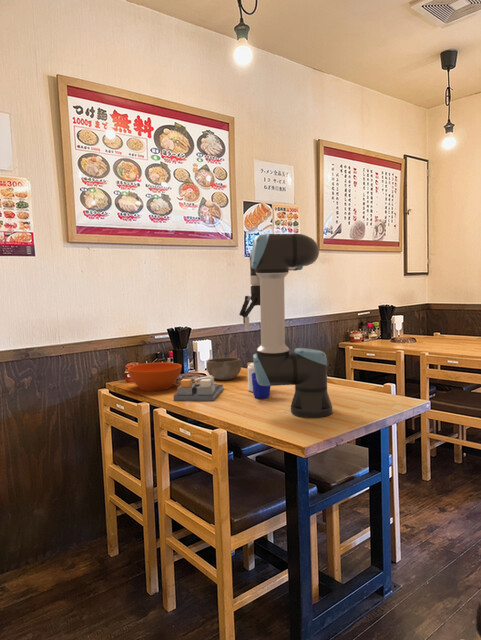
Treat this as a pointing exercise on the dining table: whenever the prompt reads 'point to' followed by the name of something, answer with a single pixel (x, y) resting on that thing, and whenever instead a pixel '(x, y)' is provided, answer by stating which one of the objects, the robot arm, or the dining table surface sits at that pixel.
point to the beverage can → (250, 376)
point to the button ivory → (205, 383)
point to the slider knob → (211, 380)
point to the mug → (259, 389)
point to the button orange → (186, 383)
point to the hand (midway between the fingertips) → (259, 331)
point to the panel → (198, 393)
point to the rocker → (201, 378)
